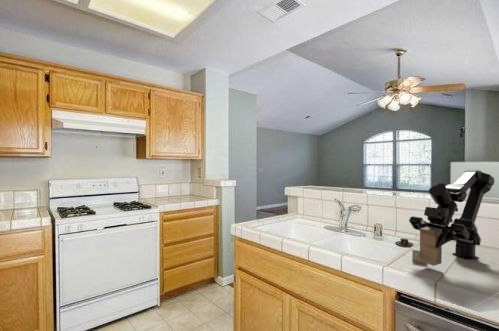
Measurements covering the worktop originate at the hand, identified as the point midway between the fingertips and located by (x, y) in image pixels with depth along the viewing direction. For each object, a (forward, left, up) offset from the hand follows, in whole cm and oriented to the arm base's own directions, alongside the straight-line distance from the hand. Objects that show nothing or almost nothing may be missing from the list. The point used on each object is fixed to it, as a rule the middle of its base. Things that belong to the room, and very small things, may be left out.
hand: (428, 245), depth 99 cm
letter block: (-4, -9, -9) cm, 13 cm away
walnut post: (-1, 0, -7) cm, 7 cm away
